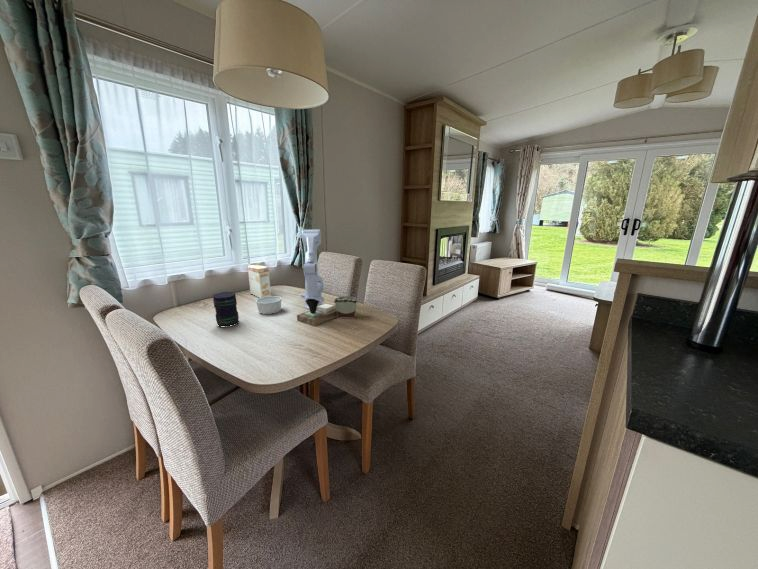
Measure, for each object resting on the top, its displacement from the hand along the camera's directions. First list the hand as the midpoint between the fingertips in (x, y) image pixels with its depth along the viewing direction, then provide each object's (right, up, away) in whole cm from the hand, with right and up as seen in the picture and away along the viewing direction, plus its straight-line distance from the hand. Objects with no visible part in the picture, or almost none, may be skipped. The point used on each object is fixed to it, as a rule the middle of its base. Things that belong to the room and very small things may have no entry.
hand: (313, 312), depth 148 cm
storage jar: (-41, -5, -4) cm, 42 cm away
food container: (+16, -2, +7) cm, 18 cm away
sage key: (0, -2, +1) cm, 2 cm away
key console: (+3, -3, +5) cm, 6 cm away
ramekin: (-27, -1, +14) cm, 31 cm away
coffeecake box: (-44, +7, +43) cm, 62 cm away
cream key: (+5, +1, +7) cm, 9 cm away
